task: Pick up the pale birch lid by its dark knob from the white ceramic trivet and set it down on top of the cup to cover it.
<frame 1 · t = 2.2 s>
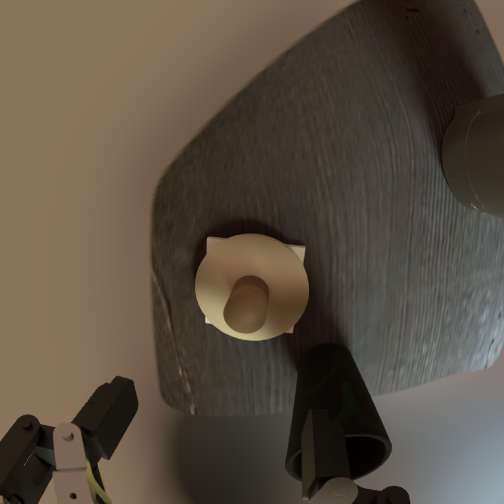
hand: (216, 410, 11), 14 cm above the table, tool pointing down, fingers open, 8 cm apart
cup: (325, 364, 26), on the table
trivet: (252, 285, 25), on the table
lid: (251, 288, 24), point 1 cm above the table, touching trivet
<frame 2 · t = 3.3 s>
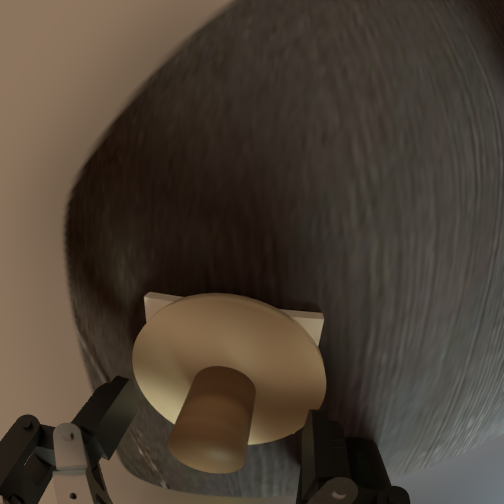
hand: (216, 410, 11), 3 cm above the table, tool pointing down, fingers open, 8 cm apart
cup: (339, 457, 15), on the table
trivet: (229, 372, 14), on the table
lid: (227, 379, 13), point 1 cm above the table, touching trivet
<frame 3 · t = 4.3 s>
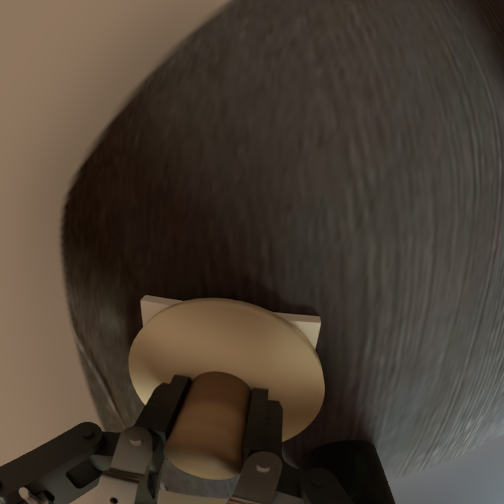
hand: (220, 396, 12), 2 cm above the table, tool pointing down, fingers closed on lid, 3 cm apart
cup: (337, 459, 15), on the table
trivet: (226, 375, 13), on the table
lid: (224, 384, 13), point 1 cm above the table, touching gripper
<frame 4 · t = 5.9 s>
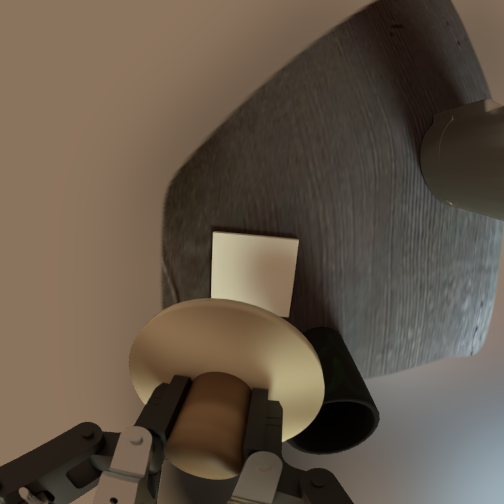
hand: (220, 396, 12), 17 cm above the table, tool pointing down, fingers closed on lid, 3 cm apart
cup: (319, 347, 30), on the table
trivet: (252, 274, 28), on the table
lid: (224, 384, 13), point 16 cm above the table, touching gripper
when the fingers open (15 cm above the table, at t = 7.8 s): lid drops 2 cm, resting on cup.
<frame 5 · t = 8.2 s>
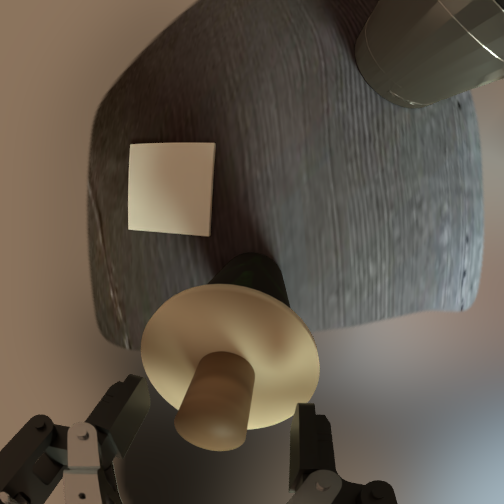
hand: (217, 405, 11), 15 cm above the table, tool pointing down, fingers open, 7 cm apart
cup: (252, 281, 26), on the table, touching lid
trivet: (169, 187, 24), on the table
lid: (228, 365, 14), point 12 cm above the table, touching cup
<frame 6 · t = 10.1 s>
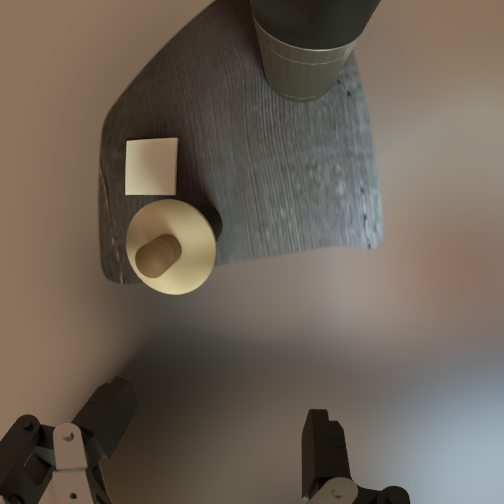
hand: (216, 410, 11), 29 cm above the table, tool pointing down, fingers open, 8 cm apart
cup: (203, 224, 39), on the table, touching lid
trivet: (151, 166, 37), on the table
lid: (170, 247, 28), point 12 cm above the table, touching cup
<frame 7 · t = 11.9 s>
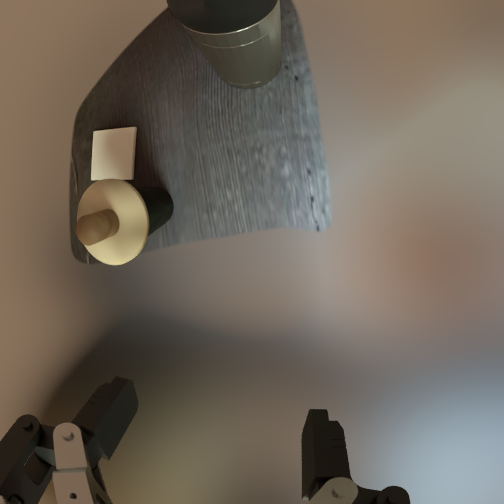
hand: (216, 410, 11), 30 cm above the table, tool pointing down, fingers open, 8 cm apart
cup: (156, 206, 40), on the table, touching lid
trivet: (113, 154, 38), on the table
lid: (112, 221, 29), point 12 cm above the table, touching cup
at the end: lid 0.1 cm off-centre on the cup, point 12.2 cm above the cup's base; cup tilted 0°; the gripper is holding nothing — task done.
